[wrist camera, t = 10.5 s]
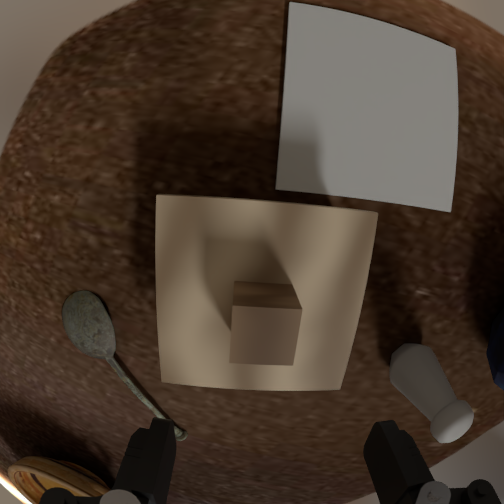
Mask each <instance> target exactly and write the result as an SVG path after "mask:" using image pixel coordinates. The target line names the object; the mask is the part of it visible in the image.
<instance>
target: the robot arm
mask: <svg viewBox="0 0 504 504" xmlns="http://www.w3.org/2000/svg"><path fill="white" fill-rule="evenodd" d="M363 453H364V459H365V461H366V464H367V467H368V470H369V473H370V475H371V478H372V481H373V484H374V487H375V490H376V493H377V495H378V498H379V501H380V504H501V502H500V500H499V498H498V496H497V494H496V492H495V490H494V489H493V486H492V485H491V484H490V483H489V482H488V481H486V480H482V479H479V480H475V481H473V482H471V483H470V485H469V486H468V487H467V488H448V486H446V485H445V484H444V483H442V482H438V481H435V480H434V479H433V476H432V474H431V473H430V471H429V469H428V467H427V465H426V463H425V461H424V459H423V457H422V455H420V451H419V449H418V448H417V445H416V444H415V442H414V440H413V438H412V437H411V436H410V435H409V434H408V433H407V432H406V431H405V430H399V428H398V426H397V425H396V423H395V421H393V420H388V421H381V422H376V423H375V424H374V425H373V427H372V430H371V432H370V434H369V436H368V438H367V440H366V443H365V445H364V450H363ZM175 456H176V438H175V430H174V422H173V420H170V419H163V418H157V417H154V418H153V420H152V423H151V426H150V429H145V428H139V429H138V430H137V431H136V432H135V433H134V434H133V435H132V436H131V438H130V441H129V444H128V448H127V449H126V452H125V456H124V457H123V460H122V463H121V466H120V469H119V472H118V474H117V477H116V480H115V483H114V485H113V487H112V489H111V490H110V491H109V492H107V493H105V494H104V495H101V496H97V497H85V496H74V495H73V494H72V493H71V492H70V491H69V490H67V489H64V488H60V487H54V488H50V489H48V490H46V491H45V492H44V493H43V495H42V497H41V499H40V502H39V504H166V501H167V496H168V491H169V485H170V481H171V476H172V471H173V466H174V461H175Z"/></svg>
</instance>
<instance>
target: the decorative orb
mask: <svg viewBox="0 0 504 504" xmlns="http://www.w3.org/2000/svg"><path fill="white" fill-rule="evenodd" d="M486 354H487V358H488V361H489V365H490V369H491V373H492V376H493V380H494V383H495V384H496V385H498V386H499V387H500V388H501V389H503V390H504V308H503V309H502V310H501V312H500V313H499V314H498V316H497V317H496V318H495V319H494V321H493V322H492V327H491V333H490V338H489V343H488V348H487V353H486Z"/></svg>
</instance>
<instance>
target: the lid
mask: <svg viewBox="0 0 504 504" xmlns="http://www.w3.org/2000/svg"><path fill="white" fill-rule="evenodd" d="M377 218H378V213H376V212H373V211H365V210H357V209H349V208H340V207H331V206H321V205H311V204H301V203H290V202H279V201H267V200H255V199H242V198H227V197H212V196H194V195H174V194H158V195H156V235H155V263H156V304H157V326H158V342H159V356H160V368H161V379H162V382H166V383H174V384H183V385H192V386H203V387H214V388H228V389H246V390H276V391H312V390H340V388H341V384H342V381H343V377H344V374H345V370H346V367H347V363H348V360H349V356H350V352H351V348H352V344H353V341H354V337H355V333H356V328H357V324H358V320H359V316H360V311H361V307H362V302H363V298H364V293H365V288H366V283H367V278H368V273H369V267H370V262H371V256H372V250H373V245H374V238H375V232H376V225H377Z"/></svg>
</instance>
